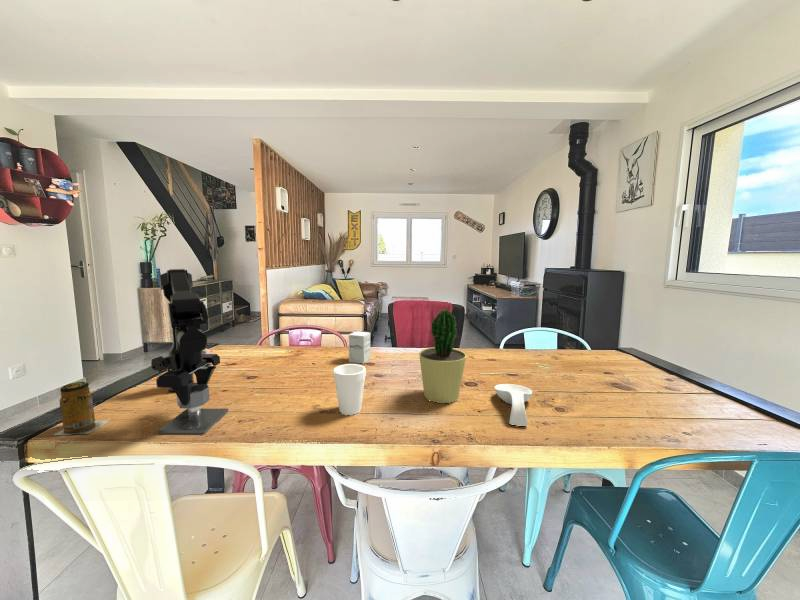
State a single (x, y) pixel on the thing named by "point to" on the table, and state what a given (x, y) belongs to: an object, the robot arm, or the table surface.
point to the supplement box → (359, 347)
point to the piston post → (193, 421)
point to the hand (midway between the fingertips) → (193, 399)
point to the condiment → (78, 410)
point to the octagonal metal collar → (196, 396)
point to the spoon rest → (515, 401)
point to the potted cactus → (442, 361)
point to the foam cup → (349, 387)
